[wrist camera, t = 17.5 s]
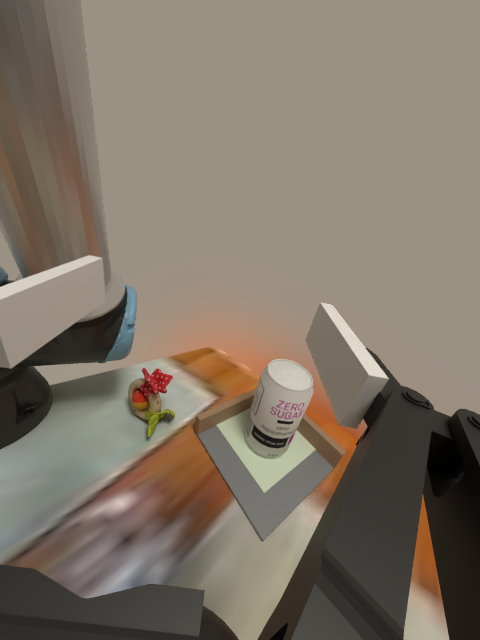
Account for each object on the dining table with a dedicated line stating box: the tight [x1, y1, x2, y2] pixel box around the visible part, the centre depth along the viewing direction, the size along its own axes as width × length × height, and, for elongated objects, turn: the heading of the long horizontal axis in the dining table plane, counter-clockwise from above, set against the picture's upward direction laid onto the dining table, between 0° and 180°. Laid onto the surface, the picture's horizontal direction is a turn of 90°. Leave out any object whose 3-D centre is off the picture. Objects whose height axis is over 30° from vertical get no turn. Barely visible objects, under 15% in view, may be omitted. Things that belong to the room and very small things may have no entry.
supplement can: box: [244, 359, 314, 458], centre depth 39 cm, size 8×8×15 cm
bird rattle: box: [128, 368, 175, 437], centre depth 39 cm, size 6×11×9 cm
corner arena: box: [194, 389, 346, 541], centre depth 40 cm, size 18×18×4 cm
